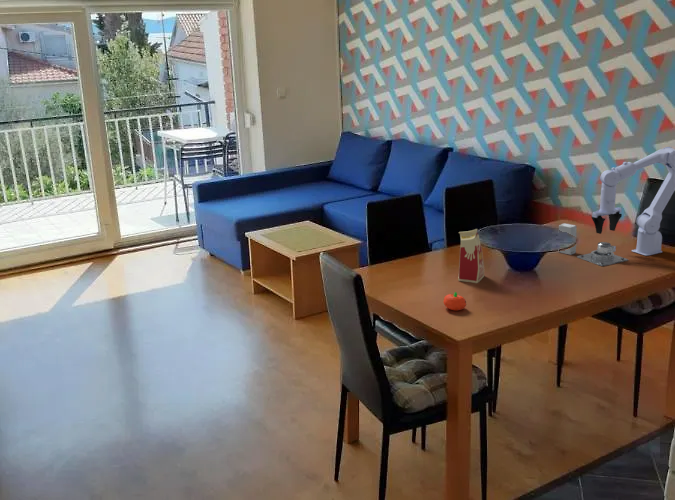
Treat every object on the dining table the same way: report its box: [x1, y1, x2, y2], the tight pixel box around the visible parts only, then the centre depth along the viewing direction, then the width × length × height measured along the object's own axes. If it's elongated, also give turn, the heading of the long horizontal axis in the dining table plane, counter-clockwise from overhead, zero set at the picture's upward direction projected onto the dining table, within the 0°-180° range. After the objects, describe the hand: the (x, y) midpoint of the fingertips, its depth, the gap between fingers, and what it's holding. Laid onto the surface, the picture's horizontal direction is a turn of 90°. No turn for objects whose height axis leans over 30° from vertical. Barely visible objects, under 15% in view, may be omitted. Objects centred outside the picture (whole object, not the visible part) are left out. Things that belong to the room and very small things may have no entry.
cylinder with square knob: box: [596, 241, 617, 256], centre depth 289 cm, size 5×7×6 cm
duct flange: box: [576, 249, 629, 267], centre depth 290 cm, size 14×14×2 cm
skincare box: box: [558, 222, 578, 256], centre depth 299 cm, size 6×4×12 cm
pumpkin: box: [443, 291, 467, 311], centre depth 245 cm, size 7×8×6 cm
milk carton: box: [457, 228, 485, 284], centre depth 272 cm, size 9×9×20 cm
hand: (605, 231), depth 294 cm, fingers open, 7 cm apart
